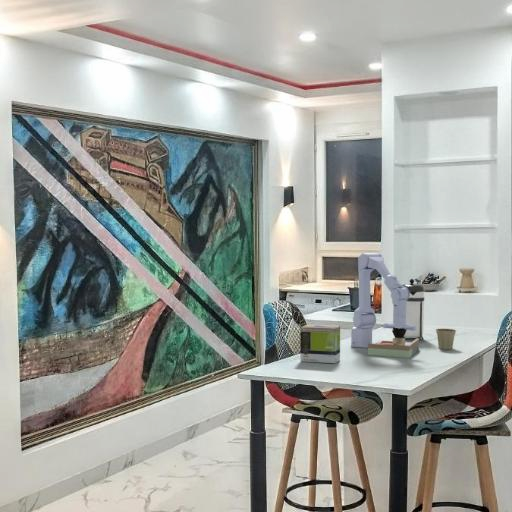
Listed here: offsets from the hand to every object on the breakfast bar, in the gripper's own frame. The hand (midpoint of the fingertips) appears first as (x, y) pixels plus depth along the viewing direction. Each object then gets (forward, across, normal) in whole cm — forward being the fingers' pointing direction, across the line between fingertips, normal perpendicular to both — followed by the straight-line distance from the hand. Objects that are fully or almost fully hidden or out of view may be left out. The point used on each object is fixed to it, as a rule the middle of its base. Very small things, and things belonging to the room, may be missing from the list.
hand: (399, 345), depth 349 cm
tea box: (+4, +22, +34) cm, 41 cm away
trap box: (+4, +4, -4) cm, 7 cm away
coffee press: (+5, +12, -49) cm, 50 cm away
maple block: (+1, -1, +4) cm, 4 cm away
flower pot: (+4, -13, -27) cm, 30 cm away
